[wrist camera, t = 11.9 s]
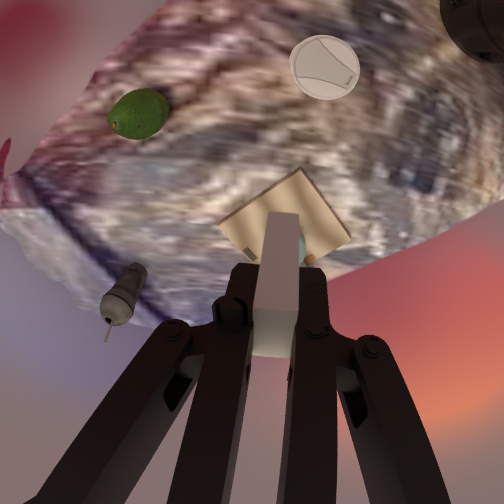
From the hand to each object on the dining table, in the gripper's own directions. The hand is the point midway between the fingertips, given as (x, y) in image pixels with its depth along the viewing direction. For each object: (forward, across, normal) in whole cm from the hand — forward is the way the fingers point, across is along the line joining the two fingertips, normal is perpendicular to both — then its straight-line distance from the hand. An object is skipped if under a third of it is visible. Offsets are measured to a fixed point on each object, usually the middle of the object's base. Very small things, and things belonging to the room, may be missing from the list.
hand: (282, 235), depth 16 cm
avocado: (+35, -22, +1) cm, 41 cm away
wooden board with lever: (+34, 0, -21) cm, 40 cm away
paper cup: (+35, +4, +8) cm, 36 cm away
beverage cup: (+35, -31, -34) cm, 58 cm away
